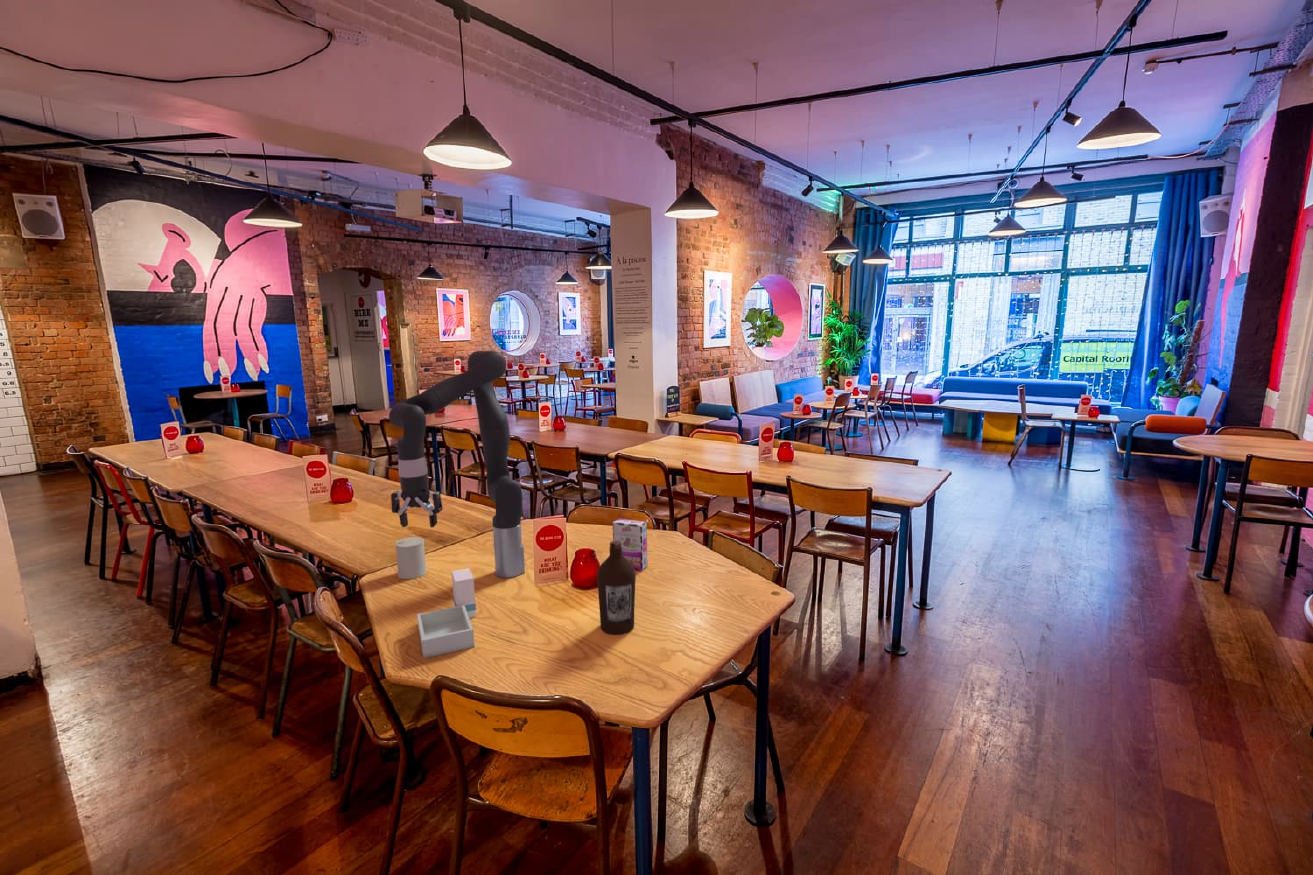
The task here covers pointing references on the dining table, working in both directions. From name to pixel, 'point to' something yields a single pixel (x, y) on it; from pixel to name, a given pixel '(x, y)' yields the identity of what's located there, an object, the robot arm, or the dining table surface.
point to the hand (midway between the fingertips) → (419, 526)
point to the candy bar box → (632, 541)
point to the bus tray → (445, 631)
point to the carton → (464, 590)
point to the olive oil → (616, 592)
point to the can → (410, 558)
